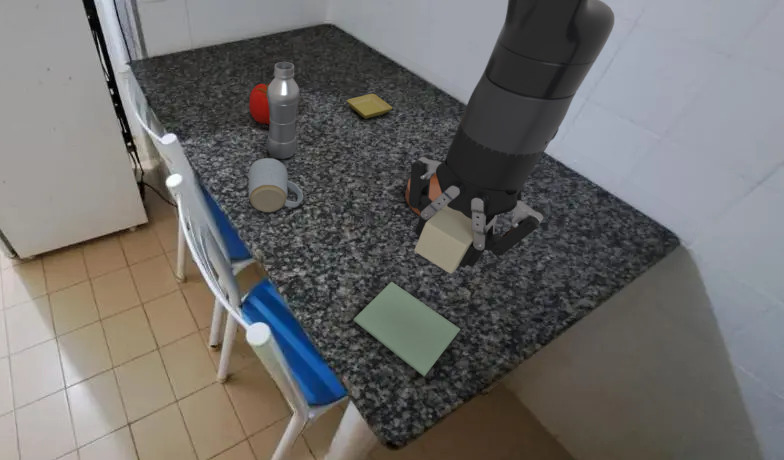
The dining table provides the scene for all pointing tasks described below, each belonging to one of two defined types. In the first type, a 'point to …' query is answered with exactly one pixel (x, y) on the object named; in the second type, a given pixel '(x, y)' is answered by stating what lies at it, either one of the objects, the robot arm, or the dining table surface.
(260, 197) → the ceramic mug
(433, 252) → the block
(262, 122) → the tomato
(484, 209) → the robot arm
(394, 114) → the dining table surface
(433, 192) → the terracotta dish
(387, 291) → the mat
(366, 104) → the saucer
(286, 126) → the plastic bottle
